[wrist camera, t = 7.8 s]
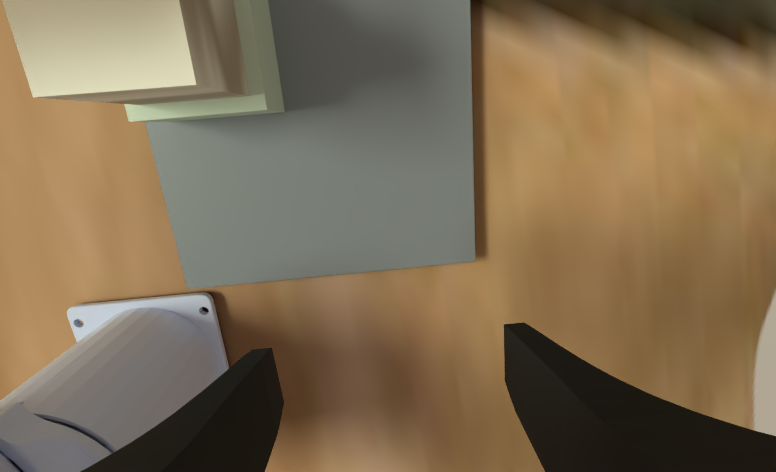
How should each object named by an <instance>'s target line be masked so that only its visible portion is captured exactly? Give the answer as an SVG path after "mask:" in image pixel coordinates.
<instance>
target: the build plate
mask: <svg viewBox="0 0 776 472" xmlns="http://www.w3.org/2000/svg"><path fill="white" fill-rule="evenodd" d="M268 4H269V11H270V17H271V24H272V30H273V37H274V43H275V50H276V57H277V63H278V70H279V76H280V83H281V89H282V96H283V103H284V109H285V112H279V113H267V114H256V115H244V116H233V117H221V118H209V119H198V120H186V121H175V122H145V124H146V128H147V132H148V136H149V140H150V144H151V148H152V152H153V156H154V160H155V163H156V167H157V171H158V175H159V179H160V183H161V187H162V191H163V195H164V199H165V203H166V207H167V211H168V215H169V219H170V223H171V227H172V231H173V235H174V239H175V243H176V247H177V250H178V254H179V258H180V262H181V266H182V270H183V274H184V278H185V282H186V286H187V289H194V288H205V287H215V286H226V285H236V284H246V283H257V282H267V281H278V280H288V279H298V278H309V277H319V276H330V275H340V274H350V273H361V272H371V271H382V270H392V269H402V268H413V267H423V266H434V265H444V264H454V263H465V262H475V217H474V167H473V118H472V68H471V18H470V0H268Z"/></svg>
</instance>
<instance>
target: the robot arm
mask: <svg viewBox="0 0 776 472" xmlns="http://www.w3.org/2000/svg"><path fill="white" fill-rule="evenodd" d="M202 307H206V308H207V309H208V310H209V312H205V311H203V309H202ZM67 316H68V319H69V322H70V325H71V327H72V330H73V333H74V336H75V339H76V341H77V343H76V344H74V345H73V346H72V347H70V348H69V349H68V350H66V351H65V352H64V353H63V354H61V355H60V356H59V357H57V358H56V359H55V360H53V361H52V362H51V363H49V364H48V365H47V366H45V367H44V368H43V369H41V370H40V371H39V372H37V373H36V374H35V375H34V376H32V377H31V378H30V379H28V380H27V381H26V382H24V383H23V384H22V385H20V386H19V387H18V388H16V389H15V390H14V391H12V392H11V393H10V394H9V395H7V396H6V397H5V398H3V399H2V400H1V401H0V472H265V469H266V466H267V463H268V461H269V458H270V455H271V452H272V449H273V446H274V443H275V440H276V437H277V434H278V429H279V425H280V420H281V415H282V410H283V405H284V400H283V396H282V392H281V387H280V383H279V378H278V374H277V369H276V365H275V360H274V356H273V352H272V348H265V349H255V350H251V351H250V352H249V353H247V354H246V355H245V356H243V357H242V358H241V359H240V360H239V361H237V362H236V363H235V364H234V365H233V366H231V367H230V368H229V365H228V360H227V356H226V352H225V348H224V343H223V339H222V335H221V330H220V326H219V322H218V318H217V313H216V309H215V305H214V301H213V298H212V296H211V295H210V294H208V293H204V292H201V293H191V294H181V295H170V296H160V297H149V298H139V299H129V300H118V301H108V302H98V303H87V304H77V305H74V306H72V307H71V308H70V309H68V311H67ZM79 319H80V320H82V321H83V324H82V323H80V321H79ZM504 353H505V382H506V385H507V388H508V391H509V394H510V397H511V400H512V403H513V406H514V408H515V411H516V413H517V415H518V417H519V419H520V421H521V424H522V426H523V428H524V430H525V432H526V434H527V436H528V438H529V440H530V442H531V444H532V446H533V448H534V450H535V452H536V454H537V456H538V458H539V460H540V462H541V464H542V466H543V468H544V470H545V472H776V436H772V435H769V434H765V433H761V432H757V431H754V430H750V429H747V428H743V427H740V426H737V425H734V424H731V423H727V422H724V421H721V420H718V419H715V418H712V417H709V416H706V415H703V414H700V413H697V412H694V411H692V410H689V409H686V408H684V407H681V406H679V405H676V404H673V403H671V402H668V401H666V400H663V399H661V398H658V397H656V396H653V395H651V394H649V393H646V392H644V391H642V390H640V389H638V388H636V387H634V386H631V385H629V384H627V383H625V382H623V381H621V380H619V379H617V378H615V377H613V376H611V375H609V374H607V373H605V372H603V371H602V370H600V369H598V368H596V367H594V366H593V365H591V364H589V363H587V362H586V361H584V360H582V359H581V358H579V357H577V356H576V355H574V354H572V353H571V352H569V351H567V350H566V349H564V348H563V347H561V346H560V345H558V344H557V343H555V342H553V341H552V340H550V339H549V338H547V337H546V336H544V335H543V334H541V333H540V332H538V331H537V330H535V329H534V328H532V327H531V326H529V325H527V324H526V323H515V324H505V325H504Z"/></svg>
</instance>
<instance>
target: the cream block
mask: <svg viewBox="0 0 776 472" xmlns="http://www.w3.org/2000/svg"><path fill="white" fill-rule="evenodd" d="M2 1H3V4H4V8H5V11H6V14H7V17H8V20H9V23H10V26H11V29H12V33H13V36H14V39H15V42H16V45H17V48H18V51H19V54H20V58H21V61H22V64H23V67H24V70H25V73H26V76H27V79H28V83H29V86H30V89H31V92H32V95H33V97H35V98H49V99H63V100H77V101H91V102H105V103H119V104H133V105H143V104H155V103H168V102H181V101H194V100H207V99H219V98H232V97H245V96H250V95H249V89H248V84H247V78H246V72H245V66H244V60H243V54H242V48H241V42H240V36H239V30H238V24H237V18H236V12H235V7H234V1H233V0H2Z"/></svg>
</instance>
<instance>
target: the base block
mask: <svg viewBox="0 0 776 472" xmlns="http://www.w3.org/2000/svg"><path fill="white" fill-rule="evenodd" d="M233 1H234V7H235V12H236V18H237V24H238V30H239V36H240V42H241V48H242V54H243V60H244V66H245V72H246V78H247V84H248V89H249V95H250V96H245V97H232V98H219V99H207V100H194V101H181V102H168V103H155V104H143V105H133V104H125V108H126V112H127V116H128V120H129V122H175V121H186V120H198V119H209V118H221V117H233V116H244V115H256V114H267V113H279V112H285V109H284V103H283V96H282V89H281V83H280V76H279V70H278V63H277V57H276V50H275V43H274V37H273V30H272V24H271V17H270V11H269V4H268V0H233Z"/></svg>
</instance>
